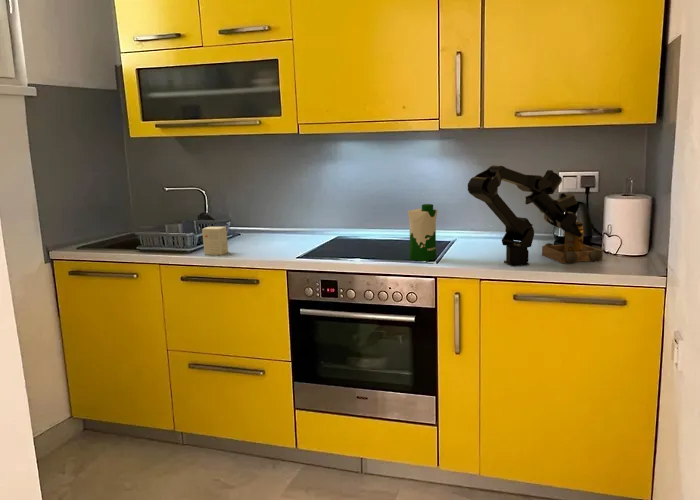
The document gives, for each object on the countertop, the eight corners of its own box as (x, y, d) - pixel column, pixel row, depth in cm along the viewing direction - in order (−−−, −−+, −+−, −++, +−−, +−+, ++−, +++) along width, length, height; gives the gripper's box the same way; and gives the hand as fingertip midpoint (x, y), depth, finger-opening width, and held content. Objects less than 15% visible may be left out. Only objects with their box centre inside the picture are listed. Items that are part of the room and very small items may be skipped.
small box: (228, 252, 250) (226, 226, 247) (222, 255, 244) (220, 228, 242) (210, 251, 252) (208, 226, 250) (203, 254, 246) (201, 228, 244)
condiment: (588, 257, 217) (589, 223, 214) (569, 260, 214) (570, 225, 211) (573, 253, 223) (574, 220, 221) (554, 256, 220) (555, 222, 218)
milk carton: (427, 263, 218) (426, 206, 214) (405, 260, 223) (404, 205, 219) (440, 258, 224) (439, 203, 220) (418, 256, 230) (418, 202, 226)
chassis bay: (563, 264, 210) (563, 252, 209) (540, 254, 225) (540, 243, 225) (604, 260, 212) (604, 249, 211) (578, 251, 228) (579, 241, 227)
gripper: (572, 189, 205) (604, 221, 207) (553, 184, 223) (583, 213, 225) (547, 213, 206) (579, 245, 208) (531, 206, 224) (560, 235, 227)
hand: (576, 233), depth 217 cm, fingers open, 9 cm apart
